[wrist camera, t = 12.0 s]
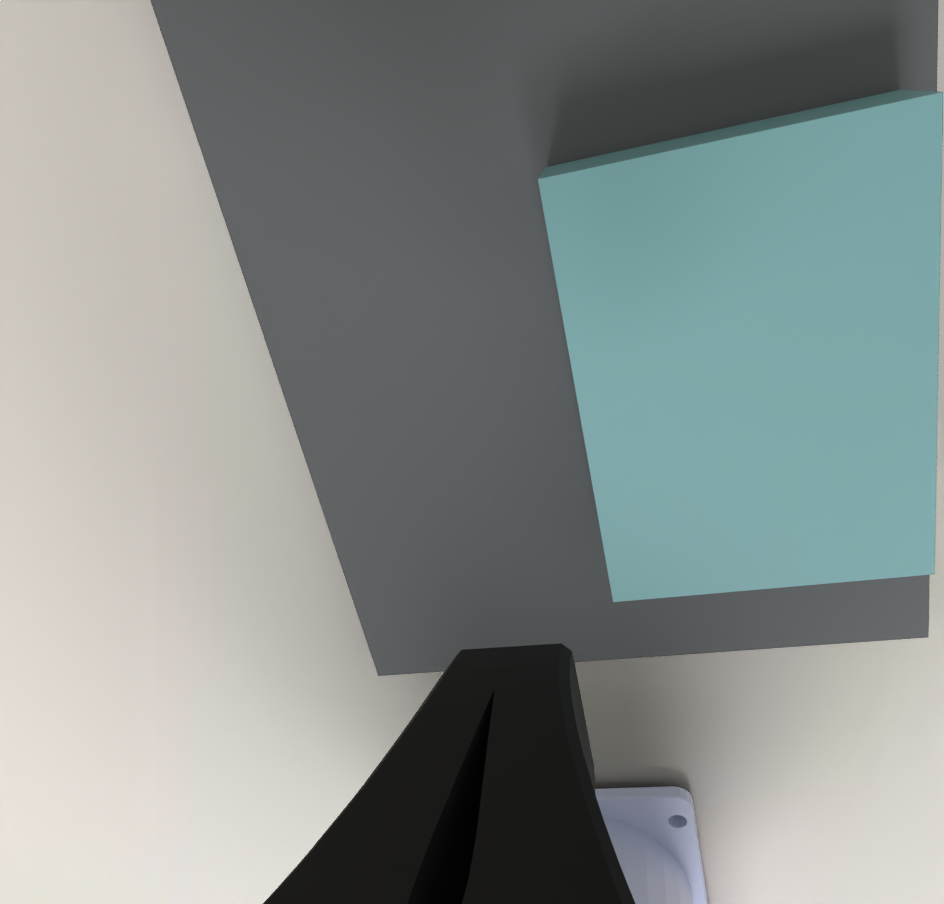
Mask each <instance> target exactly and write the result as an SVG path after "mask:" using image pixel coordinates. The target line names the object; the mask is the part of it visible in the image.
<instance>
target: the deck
mask: <svg viewBox="0 0 944 904" xmlns="http://www.w3.org/2000/svg"><path fill="white" fill-rule="evenodd" d="M942 132H943V92H935V91H918V90H896V91H892V92H887V93H882V94H878V95H873V96H869V97H864V98H860V99H855V100H850V101H846V102H841V103H837V104H832V105H828V106H823V107H818V108H814V109H809V110H805V111H800V112H796V113H791V114H786V115H782V116H777V117H773V118H768V119H764V120H759V121H754V122H750V123H745V124H741V125H736V126H732V127H727V128H722V129H718V130H713V131H709V132H704V133H700V134H695V135H690V136H686V137H681V138H677V139H672V140H668V141H663V142H658V143H654V144H649V145H645V146H640V147H636V148H631V149H626V150H622V151H617V152H613V153H608V154H604V155H599V156H594V157H590V158H585V159H581V160H576V161H572V162H567V163H562V164H558V165H553V166H549V167H546V168H545V169H544V171H543V172H542V174H541V175H540V177H539V178H538V183H539V188H540V194H541V200H542V205H543V211H544V216H545V222H546V228H547V233H548V239H549V244H550V250H551V256H552V261H553V267H554V273H555V278H556V284H557V289H558V295H559V301H560V306H561V312H562V317H563V323H564V329H565V334H566V340H567V345H568V351H569V357H570V362H571V368H572V374H573V379H574V385H575V390H576V396H577V402H578V407H579V413H580V418H581V424H582V430H583V435H584V441H585V446H586V452H587V458H588V463H589V469H590V475H591V480H592V486H593V491H594V497H595V503H596V508H597V514H598V519H599V525H600V531H601V536H602V542H603V547H604V553H605V559H606V564H607V570H608V576H609V581H610V587H611V592H612V598H613V602H621V601H632V600H644V599H655V598H667V597H678V596H690V595H701V594H713V593H724V592H736V591H747V590H759V589H770V588H782V587H793V586H805V585H816V584H828V583H839V582H851V581H862V580H874V579H885V578H897V577H908V576H920V575H931V574H934V567H935V513H936V458H937V404H938V350H939V296H940V295H939V294H940V242H941V241H940V239H941V186H942Z"/></svg>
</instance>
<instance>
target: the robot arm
mask: <svg viewBox="0 0 944 904" xmlns="http://www.w3.org/2000/svg"><path fill="white" fill-rule="evenodd" d="M674 815H680V816H674ZM263 904H708V901H707V894H706V887H705V880H704V874H703V867H702V860H701V853H700V846H699V840H698V833H697V826H696V819H695V813H694V806H693V799H692V796H691V794H690V793H689V792H688V791H687V790H685V789H683V788H680V787H674V786H668V787H637V788H606V789H595V778H594V764H593V759H592V754H591V748H590V743H589V738H588V732H587V727H586V722H585V717H584V711H583V706H582V701H581V695H580V690H579V685H578V680H577V674H576V669H575V664H574V658H573V653H572V651H571V650H570V649H569V648H567V647H566V646H564V645H563V644H562V643H558V644H542V645H527V646H511V647H495V648H480V649H464V650H461V651H460V652H459V653H458V654H457V655H456V656H455V657H454V659H453V660H452V662H451V663H450V665H449V666H448V667H447V669H446V670H445V672H444V673H443V675H442V676H441V678H440V679H439V681H438V682H437V683H436V685H435V686H434V688H433V689H432V691H431V692H430V694H429V695H428V697H427V698H426V700H425V701H424V702H423V704H422V705H421V707H420V708H419V710H418V711H417V712H416V714H415V715H414V717H413V718H412V720H411V721H410V722H409V724H408V725H407V727H406V728H405V729H404V731H403V732H402V734H401V735H400V736H399V738H398V739H397V741H396V742H395V743H394V745H393V746H392V747H391V749H390V750H389V751H388V753H387V754H386V755H385V757H384V758H383V759H382V761H381V762H380V763H379V765H378V766H377V767H376V769H375V770H374V771H373V773H372V774H371V775H370V777H369V778H368V780H367V781H366V782H365V784H364V785H363V786H362V787H361V789H360V790H359V791H358V793H357V794H356V795H355V796H354V798H353V799H352V800H351V801H350V803H349V804H348V805H347V806H346V808H345V809H344V810H343V811H342V812H341V814H340V815H339V816H338V817H337V819H336V820H335V821H334V822H333V823H332V825H331V826H330V827H329V828H328V829H327V831H326V832H325V833H324V834H323V836H322V837H321V838H320V839H319V840H318V842H317V843H316V844H315V845H314V847H313V848H312V849H311V850H310V851H309V853H308V854H307V855H306V856H305V857H304V859H303V860H302V861H301V862H300V863H299V864H298V865H297V867H296V868H295V869H294V870H293V871H292V872H291V873H290V874H289V876H288V877H287V878H286V879H285V880H284V881H283V882H282V884H281V885H280V886H279V887H278V888H277V889H276V890H275V891H274V892H273V893H272V895H271V896H270V897H269V898H268V899H267V900H266V901H265V902H264V903H263Z"/></svg>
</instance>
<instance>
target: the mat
mask: <svg viewBox="0 0 944 904" xmlns="http://www.w3.org/2000/svg"><path fill="white" fill-rule="evenodd" d="M151 3H152V6H153V9H154V12H155V15H156V18H157V21H158V24H159V27H160V30H161V33H162V36H163V39H164V42H165V45H166V47H167V50H168V53H169V56H170V59H171V62H172V65H173V68H174V71H175V74H176V77H177V80H178V83H179V86H180V89H181V92H182V95H183V98H184V101H185V104H186V107H187V110H188V113H189V116H190V119H191V122H192V125H193V128H194V130H195V133H196V136H197V139H198V142H199V145H200V148H201V151H202V154H203V157H204V160H205V163H206V166H207V169H208V172H209V175H210V178H211V181H212V184H213V187H214V190H215V193H216V196H217V199H218V202H219V205H220V208H221V211H222V213H223V216H224V219H225V222H226V225H227V228H228V231H229V234H230V237H231V240H232V243H233V246H234V249H235V252H236V255H237V258H238V261H239V264H240V267H241V270H242V273H243V276H244V279H245V282H246V285H247V288H248V291H249V294H250V296H251V299H252V302H253V305H254V308H255V311H256V314H257V317H258V320H259V323H260V326H261V329H262V332H263V335H264V338H265V341H266V344H267V347H268V350H269V353H270V356H271V359H272V362H273V365H274V368H275V371H276V374H277V376H278V379H279V382H280V385H281V388H282V391H283V394H284V397H285V400H286V403H287V406H288V409H289V412H290V415H291V418H292V421H293V424H294V427H295V430H296V433H297V436H298V439H299V442H300V445H301V448H302V451H303V454H304V457H305V459H306V462H307V465H308V468H309V471H310V474H311V477H312V480H313V483H314V486H315V489H316V492H317V495H318V498H319V501H320V504H321V507H322V510H323V513H324V516H325V519H326V522H327V525H328V528H329V531H330V534H331V537H332V540H333V542H334V545H335V548H336V551H337V554H338V557H339V560H340V563H341V566H342V569H343V572H344V575H345V578H346V581H347V584H348V587H349V590H350V593H351V596H352V599H353V602H354V605H355V608H356V611H357V614H358V617H359V620H360V623H361V625H362V628H363V631H364V634H365V637H366V640H367V643H368V646H369V649H370V652H371V655H372V658H373V661H374V664H375V667H376V670H377V673H378V676H383V675H397V674H411V673H425V672H440V671H445V670H446V669H447V667H448V666H449V665H450V663H451V662H452V660H453V659H454V657H455V656H456V655H457V654H458V653H459V652H460V651H461V650H464V649H480V648H495V647H511V646H527V645H542V644H558V643H562V644H563V645H564V646H566V647H567V648H569V649H570V650H571V651H572V653H573V658H574V662H582V661H597V660H611V659H625V658H639V657H654V656H668V655H682V654H696V653H711V652H725V651H739V650H753V649H768V648H782V647H796V646H810V645H825V644H839V643H853V642H867V641H882V640H896V639H910V638H924V637H928V626H929V575H920V576H908V577H897V578H885V579H874V580H862V581H851V582H839V583H828V584H816V585H805V586H793V587H782V588H770V589H759V590H747V591H736V592H724V593H713V594H701V595H690V596H678V597H667V598H655V599H644V600H632V601H621V602H613V598H612V592H611V587H610V581H609V576H608V570H607V564H606V559H605V553H604V547H603V542H602V536H601V531H600V525H599V519H598V514H597V508H596V503H595V497H594V491H593V486H592V480H591V475H590V469H589V463H588V458H587V452H586V446H585V441H584V435H583V430H582V424H581V418H580V413H579V407H578V402H577V396H576V390H575V385H574V379H573V374H572V368H571V362H570V357H569V351H568V345H567V340H566V334H565V329H564V323H563V317H562V312H561V306H560V301H559V295H558V289H557V284H556V278H555V273H554V267H553V261H552V256H551V250H550V244H549V239H548V233H547V228H546V222H545V216H544V211H543V205H542V200H541V194H540V188H539V183H538V178H539V177H540V175H541V174H542V172H543V171H544V169H545V168H546V167H549V166H553V165H558V164H562V163H567V162H572V161H576V160H581V159H585V158H590V157H594V156H599V155H604V154H608V153H613V152H617V151H622V150H626V149H631V148H636V147H640V146H645V145H649V144H654V143H658V142H663V141H668V140H672V139H677V138H681V137H686V136H690V135H695V134H700V133H704V132H709V131H713V130H718V129H722V128H727V127H732V126H736V125H741V124H745V123H750V122H754V121H759V120H764V119H768V118H773V117H777V116H782V115H786V114H791V113H796V112H800V111H805V110H809V109H814V108H818V107H823V106H828V105H832V104H837V103H841V102H846V101H850V100H855V99H860V98H864V97H869V96H873V95H878V94H882V93H887V92H892V91H896V90H918V91H935V92H937V47H938V46H937V45H938V43H937V41H938V0H151Z"/></svg>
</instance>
